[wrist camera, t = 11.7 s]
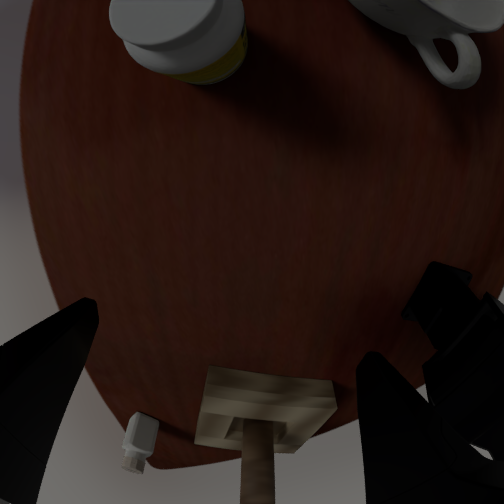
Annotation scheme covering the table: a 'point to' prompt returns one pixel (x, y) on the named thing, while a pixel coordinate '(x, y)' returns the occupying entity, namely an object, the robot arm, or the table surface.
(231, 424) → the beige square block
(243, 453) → the wooden peg
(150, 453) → the salt shaker
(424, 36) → the teacup
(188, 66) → the supplement bottle
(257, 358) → the table surface
